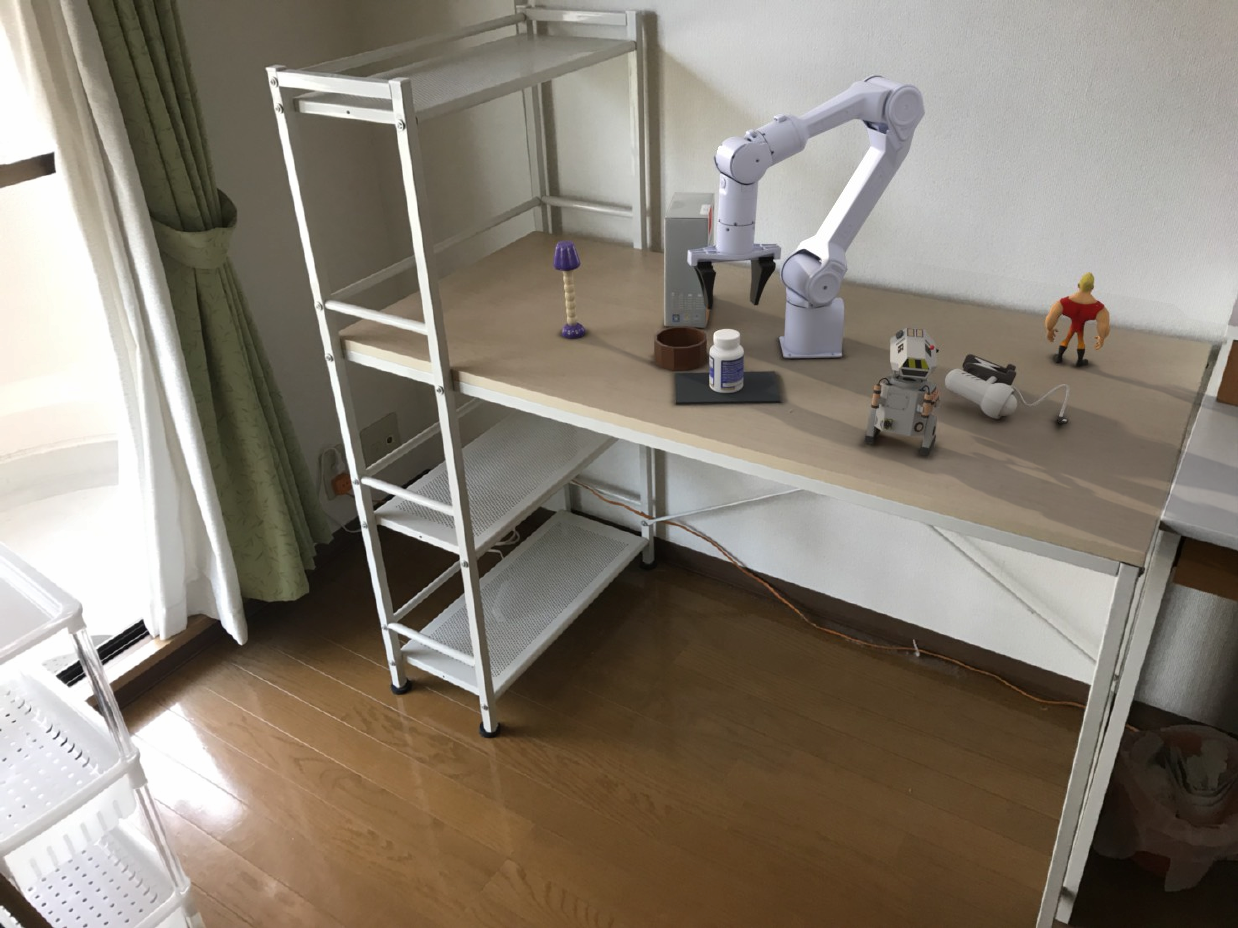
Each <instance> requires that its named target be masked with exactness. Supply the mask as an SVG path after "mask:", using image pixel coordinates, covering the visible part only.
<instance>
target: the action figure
mask: <svg viewBox="0 0 1238 928" xmlns="http://www.w3.org/2000/svg"><path fill="white" fill-rule="evenodd" d="M1077 288H1078V291H1077V292H1075V293H1073V294H1071V295H1068V296H1065V297H1061V298H1060V299H1059V300H1056V302H1054V303H1053V304H1052V305H1051V308H1050V310H1049V312H1048V314H1047V316H1046V317H1045V320H1044V326H1045V328H1046V330H1047V331H1046V334H1045V335H1046V339H1047V340H1048V342H1050V343H1054V341H1055V338H1056V336H1057V335H1056V333H1059V330H1058V329H1057V328H1055V326H1056V325H1057V323H1058V322H1059V319H1060V318H1061V316H1064V317H1067V318H1069V319H1070V320H1071V323H1070V326H1069V328H1068V332H1067V335H1066V337H1065V338H1064V339H1063V340H1062V341H1061V342H1060V344H1059V346H1058V353H1054V354H1053V356H1052V359H1053V360H1054V362H1055V363H1057V364H1062V363H1063V356H1064V354H1065V352H1066V351H1067V349H1068V348H1069V345H1070V341H1071V340H1072V338H1073V336H1074V335H1075V333H1076V337H1077V346H1076V355H1077V360H1076V363H1075V366H1076V367H1078V368H1080V367H1083V366H1086V365H1088V364H1089V360H1088V359H1087V358H1084V356H1085V353H1086V344H1085V342H1084V336H1085V335H1084V334H1085V333H1084V332H1085V325H1086V323H1087V322H1088V321H1096V330H1097V335H1096V336H1094V339H1096V340H1097V341H1095V345H1094V348H1093V350H1094V351H1097V350H1100V349H1102V348H1103V346H1104V344H1105V339H1106V338H1108V336H1109V334H1110V332H1111V325H1110V321H1111V318H1110V312H1109V310H1108V309H1107V307H1106V306H1105V304H1104V303H1102V301H1099V300H1097V299H1096V298H1095V297H1094V296H1093V294H1092V291H1093V290H1094V288H1095V277H1094V275H1093V273H1092V272H1086V273H1085V274H1083V275H1082V276H1081V278H1080V279H1079V283H1077ZM1055 332H1056V333H1055Z"/></svg>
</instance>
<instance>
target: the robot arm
mask: <svg viewBox="0 0 1238 928" xmlns="http://www.w3.org/2000/svg"><path fill="white" fill-rule="evenodd" d="M925 114H926V112H925V106H924V99H923V95H922V92H921V90H920V89H919V88H918V87H917V86H916V85H914V84H912V83H911V84H909V83H903V82H899V81H896V80H893V79H889V78H887V77H884V76H882V75H879V74H872V75H868V76H867V77H865V78H864V79H862V80H858V81H855V82H853V83H852V84H851V85H850V86H849V88H847V89H845V90H844V91H843V92H840V93H839V94H837V95H835V96H834V97H832V98H830V99H829V100H827V101H825V102H823V103H821V104H820V105H818V106H816V107H814V108H813V109H811V110H809V111H808V112H806V113H803V114H801V116H799V117H797V116H795V115H794V114H791V113H787V114H784V113H778V114H776V115H774V116H773V121H770V122H769V123H767V124H764V125H762V126H760V127H758V128H757V129H753V128H751V129H748V130H747V131H745V135H744V136H743V137H742V136H736V135H735V136H731V137H728V138H726V139H725V140H723V141H722V142H721V144H720V145H719V146H718V149H717V150H716V154H714V155H713V158H712V159H713V164H714V167H715V169H716V170H717V172H718V174H719V187H718V188H719V189H718V207H717V209H718V210H717V224H716V225H717V227H716V244H714V246H709V247H705V248H700V249H695V250H688V259H687V262H688V263H689V265H690V266H693V267H694V269H695V271H696V274H697V276H698V279H699V282H700V285H701V289H702V293H703V298H704V306H705V307H706V308H707V309H708V310H709V309H710V310H713V306H714V288H715V280H716V276H717V271H716V270H714V265H713V266H712V263H713V264H717V263H718V264H719V263H731V262H732V263H733V262H744V261H750V272H751V278H750V279H751V282H750V289H749V290H750V291H749V302H750V303H751V304H752V305H753V306H754V307H755V306H759V304H760V301H761V297H762V294H763V292H764V289H765V287H766V286H767V283H768V281H769V279H770V278H771V276H772V275H773V273H774V272H775V271H776V268H777V263H776V262H775V261H776V260H781V257H782V246H780V245H779V244H778V243H756V242H755V234H756V233H755V232H756V220H757V219H756V218H757V205H758V192H759V191H758V190H759V181H760V180H761V179H762V178H763V177H764V176H765V174H766V172H767V170H768V169H769V168H771V167H773V166H775V165H777V164H779V163H781V162H783V161H785V160H787V159H788V158H791V157H792V156H795V155H797V154H799V153H801V152H803V151H804V150H805V148H806V146H807V142H808V140H809V139H811V138H814V137H816V136H819V135H821V134H823V133H825V132H828V131H830V130H832V129H835V128H837V127H839V126H841V125H844V124H847V123H849V122H851V121H854V120H861V123H862V124H863V127H864V128H865V130H866V132H867V135H868V136H867V137H868V141H869V148H868V150H867V152H866V153H865V155H864V156H863V159H862V160H861V162H860V163H859V164H858V166H857V168H856V170H854V173H853V174H852V176H851V177H850V179H849V181H848V182H847V184H846V186H845V187H844V188H843V191H842V192H841V193H840V194H839V197H838V198H837V200H836V202H835V203H834V205H833V207H831V210H830V211H829V213H828V215H827V216H826V218H825V219H824V221H823V222H822V224H821V225H820V228H819V229H818V231H817V232H816V233H815V235H813V236H811V237H808V238H806V239H804V240H802V241H800V243H799V244H798V246H797V247H796V249H795V250H794V251H793V252H791V253H790V254H789V255H787V256H786V257H785V259H784V260H783V261H782V263H781V265H780V268H779V279H780V281H781V283H782V284H783V285H784V286H785V294H786V298H785V316H784V317H785V318H784V335H782V336H779V344H780V347H781V352H782V355H783V358H784V359H824V358H827V359H829V358H842V356H843V353H842V350H843V341H844V340H843V339H844V328H845V327H844V326H845V303H844V300H843V298H842V297H837V296H838V295H839V293H840V290H841V287H842V282H843V279H844V276H845V275H846V273H847V272H848V270H849V269H848V263H847V257H846V253H847V251H848V250H849V248H850V246H851V245H852V243H853V241H854V239H855V238H856V237H857V235H858V233H859V232H860V230H861V229H862V227H863V226H864V224H865V222H866V221H867V220H868V218H869V216H870V214H871V213H872V212H873V210H874V208H875V207H876V205H877V203H878V202H879V201H880V199H881V198H882V196H883V194H884V193H885V191H886V189H887V187H888V186H889V184H890V183H891V182H892V180H893V178H894V177H895V175H896V173H897V172H898V170H899V169H900V167H901V166H902V164H903V163H904V161H905V160H906V158H907V156H908V155H909V153H910V150H911V146H912V142H913V138H914V134H915V130H916V129H917V128H918V125H919V124H920V123H921V121H922V120H923V118H924V116H925Z"/></svg>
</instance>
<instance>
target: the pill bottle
mask: <svg viewBox="0 0 1238 928" xmlns="http://www.w3.org/2000/svg"><path fill="white" fill-rule="evenodd" d="M740 343H741V334H740V332H739V331H738V330H736V329H732V328H723V329H719V330H716V331H715V332H714V333H713V345H711V347H710V349H709V359H708V361H709V362H708V363H709V372H708V373H709V383H710V387H711V389H713V390H714V391H716V392H720V393H733V392H737V391H739V390H740V389H741V388H742V387H743V372H745V371H744V368H745V366H744V363H745V351H744V347H743V346H742V345H741V344H740Z"/></svg>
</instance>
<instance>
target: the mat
mask: <svg viewBox="0 0 1238 928" xmlns="http://www.w3.org/2000/svg"><path fill="white" fill-rule="evenodd" d="M674 397H675V401H674V403H675V405H719V404H720V405H721V404H722V405H725V404H773V403H774V404H778V403H779V404H781V403H782V398H781V395H780V389H779V385H778V380H777V375H776V371H774V370H773V371H772V370H768V371H744V372H743V387H742V388H741V389H740V390H739V391H737V392H733V393H720V392H716V391H714V390H713V389H711V387H710V383H709V372H674Z"/></svg>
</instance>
